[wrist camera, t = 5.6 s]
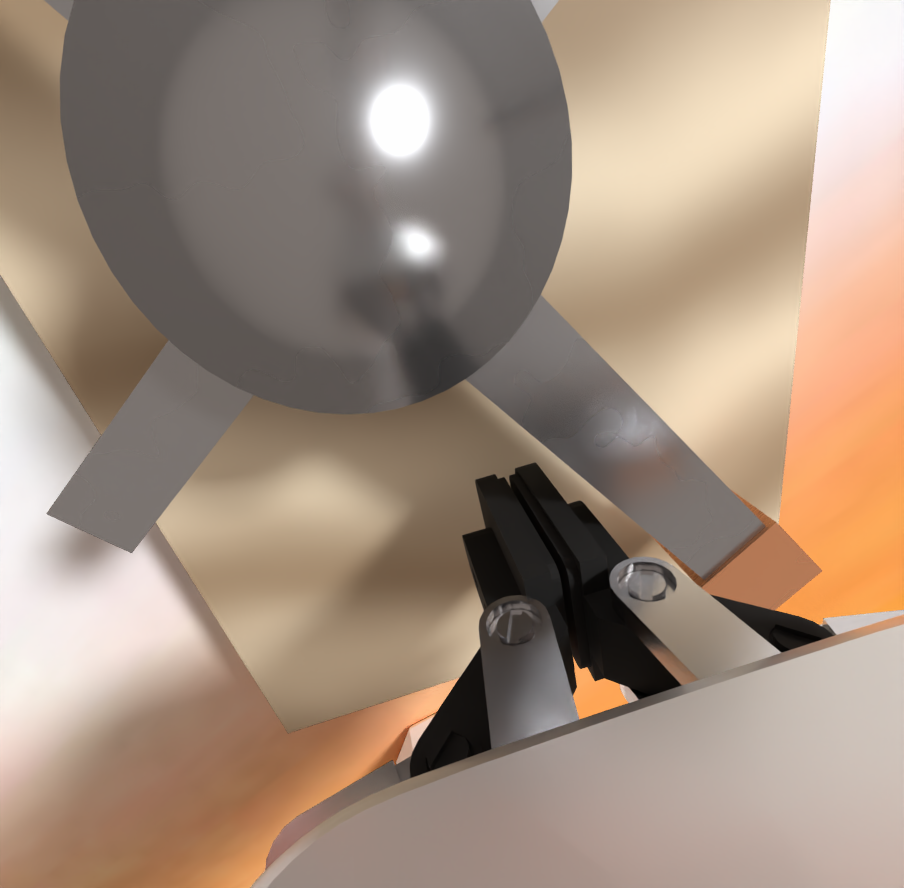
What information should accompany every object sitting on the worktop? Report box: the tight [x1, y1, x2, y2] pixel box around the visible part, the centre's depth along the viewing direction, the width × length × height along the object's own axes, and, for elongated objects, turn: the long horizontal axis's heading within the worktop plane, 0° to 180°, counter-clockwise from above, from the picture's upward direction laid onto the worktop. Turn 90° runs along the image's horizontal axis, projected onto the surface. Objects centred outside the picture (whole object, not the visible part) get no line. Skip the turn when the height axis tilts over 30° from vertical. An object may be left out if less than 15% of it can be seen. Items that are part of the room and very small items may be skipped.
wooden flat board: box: [0, 0, 831, 733], centre depth 12 cm, size 24×18×3 cm
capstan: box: [44, 0, 822, 610], centre depth 9 cm, size 20×14×4 cm
